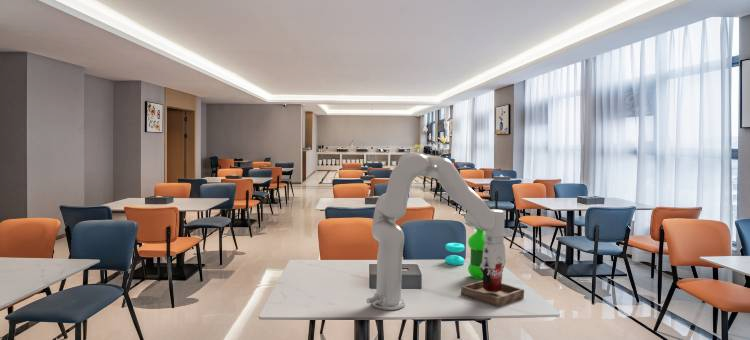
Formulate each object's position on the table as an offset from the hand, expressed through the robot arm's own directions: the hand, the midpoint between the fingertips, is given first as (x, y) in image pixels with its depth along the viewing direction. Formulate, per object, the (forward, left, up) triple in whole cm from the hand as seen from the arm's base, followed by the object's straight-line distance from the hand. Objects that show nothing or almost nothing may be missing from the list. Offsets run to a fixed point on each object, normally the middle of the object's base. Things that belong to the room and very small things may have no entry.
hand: (492, 282), depth 188 cm
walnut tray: (0, 0, -6) cm, 6 cm away
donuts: (+28, +44, -6) cm, 52 cm away
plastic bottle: (+17, +20, -6) cm, 27 cm away
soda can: (0, 0, -4) cm, 4 cm away
